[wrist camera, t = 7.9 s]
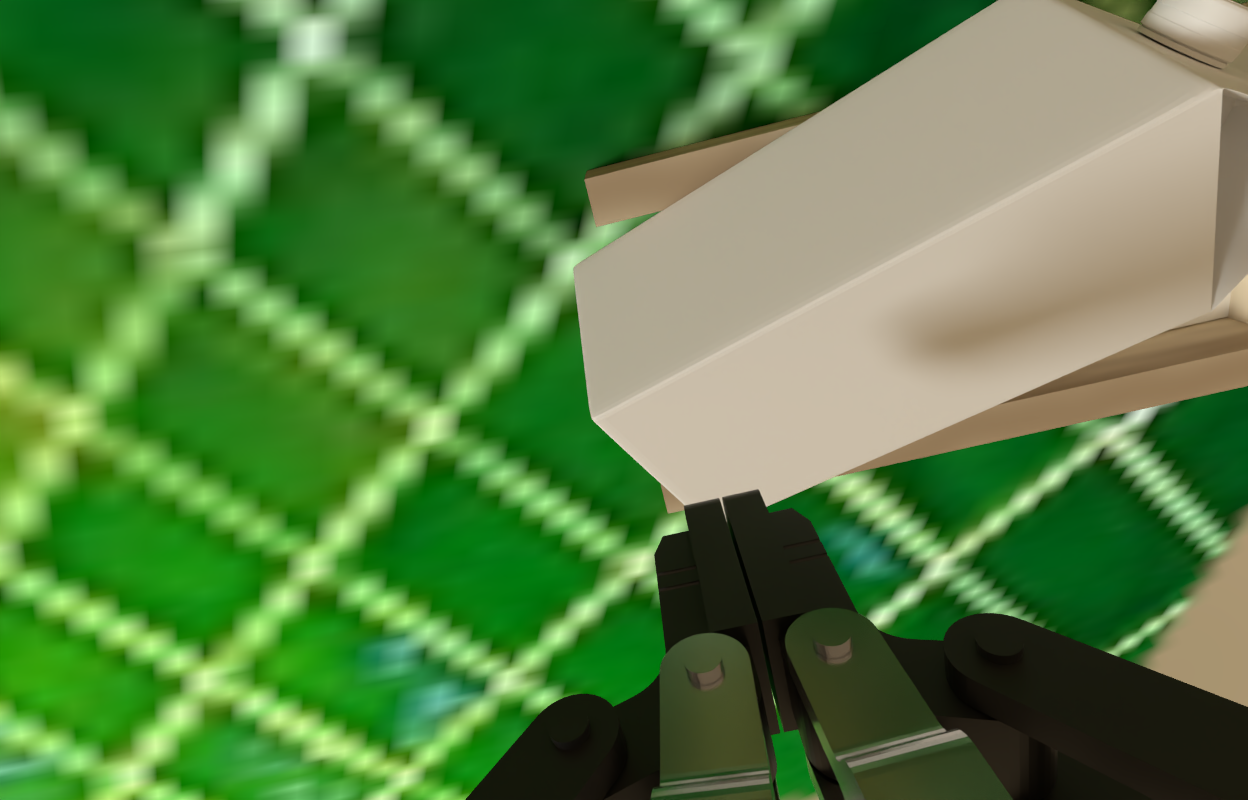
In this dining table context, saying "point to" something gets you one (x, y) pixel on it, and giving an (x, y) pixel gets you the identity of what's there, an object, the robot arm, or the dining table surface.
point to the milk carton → (928, 247)
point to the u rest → (1123, 382)
